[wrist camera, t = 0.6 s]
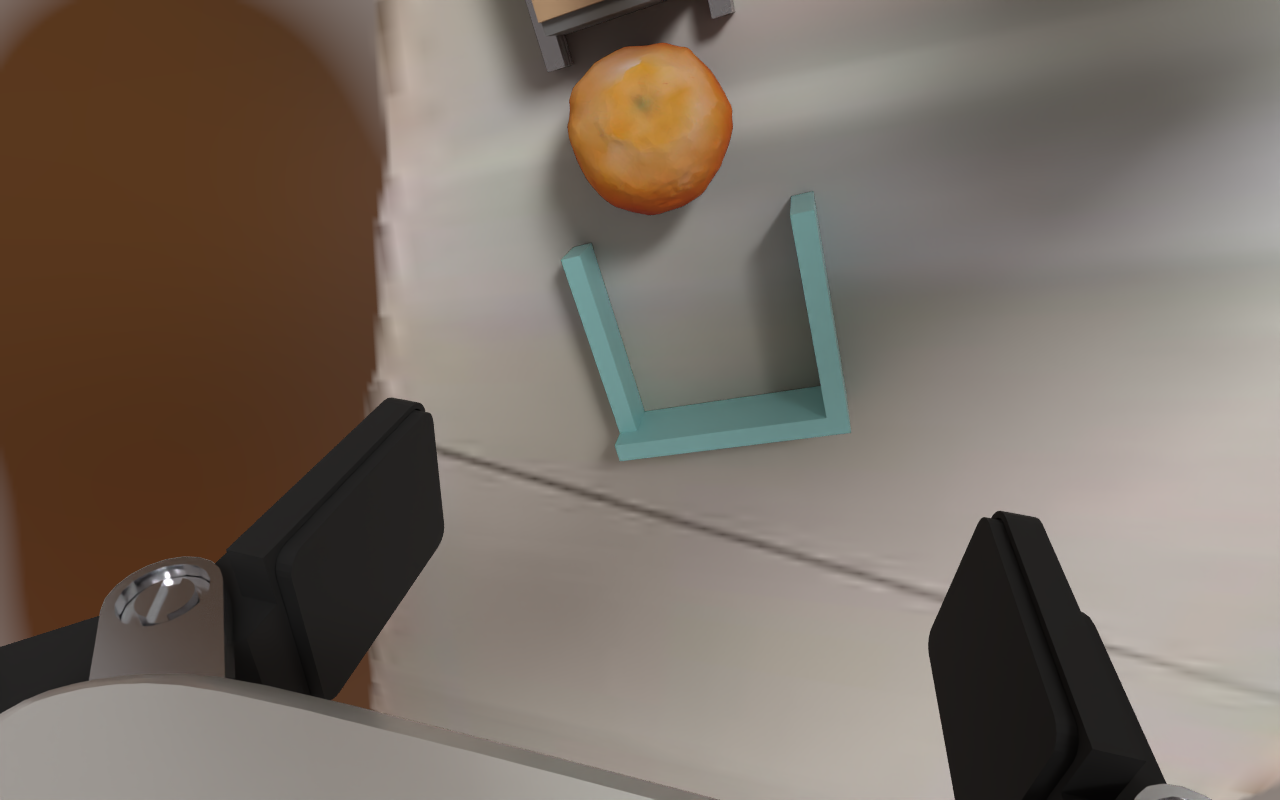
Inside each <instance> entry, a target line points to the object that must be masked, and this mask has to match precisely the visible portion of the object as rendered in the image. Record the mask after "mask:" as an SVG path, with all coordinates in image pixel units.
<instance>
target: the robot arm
mask: <svg viewBox="0 0 1280 800" xmlns="http://www.w3.org/2000/svg"><path fill="white" fill-rule="evenodd" d="M443 533H444V519H443V510H442V500H441V491H440V481H439V471H438V462H437V452H436V443H435V433H434V424H433V418H432V415H431V414H430V413H428V412H425V409H424V407H423V405H422V404H420V403H418V402H412V401H407V400H402V399H396V398H387V399H386V400H384V401H383V402H382V403H381V404H380V405H379V406H378V407H377V408H376V409H375V410H374V411H373V412H371V413H370V414H369V415H368V416H367V417H366V418H365V419H364V420H363V421H362V422H361V423H360V424H359V425H358V426H357V427H356V428H355V429H354V430H352V431H351V433H349V434H348V435H347V436H346V437H345V438H344V439H343V440H342V441H341V442H340V443H339V444H338V445H337V446H336V447H334V449H332V450H331V451H330V452H329V453H328V454H327V455H326V456H325V457H324V458H323V459H322V460H321V461H320V462H319V463H317V464H316V465H315V466H314V467H313V468H312V469H311V470H310V471H309V472H308V473H307V474H306V475H305V476H304V477H303V478H302V479H301V480H299V482H297V484H295V485H294V486H293V487H292V488H291V489H290V490H289V491H288V492H287V493H286V494H285V495H284V496H283V497H281V498H280V499H279V501H277V502H276V503H275V504H274V505H273V506H272V507H271V508H270V509H269V510H268V511H267V512H266V513H265V514H264V515H262V517H260V518H259V519H258V520H257V521H256V522H255V523H254V524H253V525H252V526H251V527H250V528H249V529H248V530H247V531H246V532H244V533H243V534H242V535H241V536H240V537H239V538H238V539H237V540H236V541H235V542H234V543H233V544H232V545H231V546H230V547H229V548H228V549H227V553H226V554H225V555H224V556H223V557H221V559H219V560H218V561H217V562H216V563H215V564H214V563H213V562H212V561H209V560H206V559H203V558H200V557H178V558H172V559H166V560H163V561H160V562H158V563H154V564H151V565H148V566H146V567H144V568H142V569H140V570H139V571H136V572H134V573H133V574H131V575H129V576H128V577H127V578H125V579H124V580H123V581H122V582H120V583H119V584H118V585H116V586H115V587H114V589H113V590H112V591H111V592H110V593H109V595H108V596H107V597H106V598H105V600H104V603H103V606H102V608H101V610H100V616H97V617H94V618H91V619H88V620H84V621H81V622H78V623H75V624H72V625H69V626H65V627H62V628H59V629H56V630H53V631H50V632H46V633H43V634H40V635H37V636H34V637H31V638H27V639H24V640H21V641H18V642H15V643H11V644H8V645H6V646H2V647H0V800H718V799H715V798H711V797H707V796H703V795H700V794H696V793H692V792H688V791H684V790H680V789H677V788H673V787H669V786H665V785H661V784H657V783H653V782H650V781H646V780H642V779H638V778H634V777H630V776H627V775H623V774H619V773H615V772H611V771H607V770H603V769H600V768H596V767H592V766H588V765H584V764H580V763H576V762H573V761H569V760H565V759H561V758H557V757H553V756H549V755H545V754H542V753H538V752H534V751H530V750H526V749H522V748H518V747H514V746H511V745H507V744H503V743H499V742H495V741H491V740H487V739H483V738H479V737H475V736H471V735H467V734H463V733H459V732H455V731H451V730H448V729H444V728H440V727H436V726H432V725H428V724H424V723H420V722H416V721H412V720H408V719H404V718H400V717H396V716H392V715H388V714H384V713H380V712H376V711H372V710H369V709H364V708H360V707H356V706H352V705H348V704H344V703H339V702H335V701H331V700H332V699H333V698H335V697H336V696H337V694H338V693H339V692H340V690H341V689H342V688H343V686H344V685H345V683H346V682H347V680H348V679H349V677H350V676H351V674H352V673H353V671H354V670H355V669H356V667H357V666H358V664H359V663H360V661H361V660H362V658H363V657H364V655H365V654H366V652H367V651H368V649H369V648H370V646H371V645H372V643H373V642H374V641H375V639H376V638H377V636H378V635H379V633H380V632H381V630H382V629H383V627H384V626H385V624H386V623H387V621H388V620H389V618H390V617H391V615H392V614H393V613H394V611H395V610H396V608H397V607H398V605H399V604H400V602H401V601H402V599H403V598H404V596H405V595H406V593H407V592H408V590H409V589H410V587H411V586H412V585H413V583H414V582H415V580H416V579H417V577H418V576H419V574H420V573H421V571H422V570H423V568H424V567H425V565H426V564H427V562H428V561H429V559H430V558H431V557H432V555H433V554H434V552H435V551H436V549H437V548H438V546H439V544H440V542H441V540H442V537H443ZM928 650H929V657H930V663H931V668H932V674H933V680H934V685H935V691H936V696H937V702H938V707H939V713H940V719H941V724H942V730H943V735H944V741H945V746H946V752H947V757H948V763H949V769H950V774H951V780H952V785H953V791H954V796H955V800H1211V799H1210V798H1208V797H1207V796H1205V795H1202V794H1200V793H1197V792H1195V791H1193V790H1190V789H1188V788H1185V787H1182V786H1176V785H1170V784H1166V782H1165V779H1164V777H1163V775H1162V773H1161V770H1160V768H1159V766H1158V764H1157V762H1156V759H1155V757H1154V755H1153V753H1152V751H1151V748H1150V746H1149V744H1148V742H1147V739H1146V737H1145V735H1144V733H1143V731H1142V728H1141V726H1140V724H1139V722H1138V720H1137V717H1136V715H1135V713H1134V711H1133V709H1132V706H1131V704H1130V702H1129V700H1128V697H1127V695H1126V693H1125V691H1124V689H1123V686H1122V684H1121V682H1120V680H1119V678H1118V675H1117V673H1116V671H1115V669H1114V666H1113V664H1112V662H1111V660H1110V658H1109V655H1108V653H1107V651H1106V649H1105V647H1104V644H1103V642H1102V640H1101V638H1100V636H1099V633H1098V631H1097V629H1096V627H1095V625H1094V623H1093V622H1092V620H1091V619H1090V617H1089V616H1087V615H1086V614H1085V613H1083V612H1081V611H1080V609H1079V606H1078V604H1077V602H1076V599H1075V597H1074V595H1073V593H1072V590H1071V588H1070V586H1069V584H1068V581H1067V579H1066V577H1065V574H1064V572H1063V570H1062V568H1061V565H1060V563H1059V561H1058V558H1057V556H1056V554H1055V552H1054V549H1053V547H1052V545H1051V543H1050V540H1049V538H1048V536H1047V533H1046V531H1045V529H1044V527H1043V524H1042V523H1041V521H1040V520H1039V519H1038V518H1036V517H1031V516H1025V515H1020V514H1014V513H1009V512H1004V511H997V512H996V513H995V514H994V515H993V516H992V518H986V517H984V518H982V519H981V520H980V521H979V523H978V524H977V527H976V529H975V531H974V533H973V536H972V538H971V540H970V542H969V545H968V547H967V549H966V551H965V554H964V556H963V558H962V560H961V563H960V565H959V567H958V570H957V572H956V574H955V576H954V579H953V581H952V583H951V585H950V588H949V590H948V592H947V594H946V597H945V599H944V601H943V603H942V606H941V608H940V610H939V612H938V615H937V617H936V619H935V621H934V624H933V626H932V628H931V631H930V635H929V642H928Z"/></svg>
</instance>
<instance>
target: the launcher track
mask: <svg viewBox="0 0 1280 800" xmlns="http://www.w3.org/2000/svg"><path fill="white" fill-rule="evenodd" d="M525 1H526V4H527V7H528V10H529V14H530V17H531V20H532V23H533V26H534V30H535V33H536V36H537V39H538V43H539V46H540V49H541V52H542V55H543V59H544V62H545V65H546V68H547V72H550V71H554V70H558V69H561V68H564V67H567V66H570V65H573V61H572V58H571V55H570V51H569V48H568V44H567V41H566V38H565V34H564V35H555V36H547V37H546V36H545V33H544V30H543V26H542V23H538V20H537V16H536V13H535V10H534V7H533V3H532V0H525ZM708 2H709V7H710V12H711V17H712V19H714V18H718V17H721V16H724V15H727V14H730V13H733V12H735V9H734V4H733V0H708Z"/></svg>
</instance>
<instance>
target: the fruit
mask: <svg viewBox="0 0 1280 800" xmlns="http://www.w3.org/2000/svg"><path fill="white" fill-rule="evenodd" d="M569 103H570V116H569V122H568V134H569V139H570V143H571V145H572V148H573V151H574V154H575V156H576V159H577V161H578V163H579V165H580V168H581V170H582V172H583V173H584V175H585V177H586V179H587V180H588V182H589V183H590V184H591V185H592V187H593V188H594V189H595V190H596V191H597V192H598V194H599V195H600V196H601V197H603V198H604V199H605V200H606V201H607V202H609V203H610V204H612V205H613V206H615V207H618V208H621V209H624V210H628V211H631V212H635V213H640V214H646V215H656V214H661V213H664V212H667V211H670V210H673V209H676V208H679V207H682V206H684V205H686V204H688V203H689V202H691V201H692V200H694V199H695V198H697V197H699V196H700V195H701V194H702V193H703V192H704V191H705V190H706V188H707V186H708V185H709V183H710V182H711V180H712V179H713V177H714V176H715V174H716V173H717V171H718V170H719V168H720V166H721V164H722V161H723V158H724V156H725V153H726V151H727V148H728V145H729V142H730V138H731V134H732V129H733V123H732V107H731V104H730V103H729V101H728V99H727V97H726V95H725V93H724V91H723V89H722V88H721V86H720V84H719V82H718V81H717V79H716V78H715V76H714V75H713V73H712V72H711V70H710V69H709V68H708V67H707V66H706V65H705V64H704V63H703V62H702V61H701V60H700V59H699V58H697V57H696V56H695V55H694V54H693V53H692V51H691V50H690V49H688V48H686V47H679V46H674V45H671V44H667V43H657V44H651V45H646V46H627V47H623V48H621V49H619V50H616V51H614V52H613V53H611V54H609V55H607V56H605V57H604V58H602V59H600V60H599V61H597V62H595V63H594V64H593V65H592V67H591V68H590V69H589V70H588V71H587V72H586V74H585V75H584V76H583V77H582V78H581V79H580V80H579V82H578V83H577V84H576V85H575V86H574V87H573V90H572V93H571V96H570V100H569Z"/></svg>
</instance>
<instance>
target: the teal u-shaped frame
mask: <svg viewBox="0 0 1280 800" xmlns="http://www.w3.org/2000/svg"><path fill="white" fill-rule="evenodd" d="M790 218H791V224H792V229H793V235H794V240H795V246H796V251H797V257H798V262H799V268H800V273H801V279H802V284H803V290H804V296H805V301H806V307H807V312H808V318H809V323H810V329H811V334H812V340H813V345H814V351H815V356H816V362H817V367H818V373H819V378H820V384H821V386H816V387H810V388H803V389H796V390H789V391H782V392H775V393H768V394H762V395H755V396H748V397H741V398H734V399H727V400H720V401H714V402H707V403H700V404H693V405H686V406H679V407H673V408H666V409H659V410H652V411H644V408H643V405H642V401H641V398H640V395H639V392H638V389H637V386H636V382H635V379H634V376H633V373H632V370H631V367H630V364H629V360H628V357H627V354H626V351H625V348H624V345H623V341H622V338H621V335H620V332H619V329H618V326H617V323H616V319H615V316H614V313H613V310H612V307H611V304H610V300H609V297H608V294H607V291H606V288H605V285H604V281H603V278H602V275H601V272H600V269H599V266H598V263H597V259H596V256H595V253H594V250H593V247H592V244H591V243H589V244H585V245H581V246H576V247H573V248H572V249H571V250H570V251H569V252H568V253H567V254H566V255H565V256H564V257H563V259H562V260H561V262H562V265H563V268H564V271H565V274H566V276H567V279H568V282H569V285H570V288H571V291H572V294H573V297H574V300H575V303H576V306H577V309H578V312H579V315H580V318H581V320H582V323H583V326H584V329H585V332H586V335H587V338H588V341H589V344H590V347H591V350H592V353H593V356H594V359H595V362H596V364H597V367H598V370H599V373H600V376H601V379H602V382H603V385H604V388H605V391H606V394H607V397H608V400H609V403H610V406H611V408H612V411H613V414H614V417H615V420H616V423H617V426H618V429H619V432H620V434H619V437H618V439H617V441H616V444H615V448H616V451H617V454H618V457H619V460H620V461H626V460H634V459H642V458H651V457H659V456H667V455H675V454H683V453H691V452H699V451H707V450H715V449H724V448H732V447H740V446H748V445H756V444H764V443H772V442H780V441H788V440H796V439H805V438H813V437H821V436H829V435H837V434H845V433H851V428H850V419H849V411H848V402H847V395H846V389H845V383H844V376H843V370H842V364H841V358H840V352H839V346H838V340H837V333H836V327H835V321H834V315H833V309H832V303H831V297H830V291H829V284H828V278H827V272H826V266H825V260H824V254H823V248H822V241H821V235H820V229H819V223H818V217H817V211H816V205H815V198H814V192H813V191H812V192H807V193H803V194H799V195H795V196H791V207H790Z"/></svg>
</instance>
